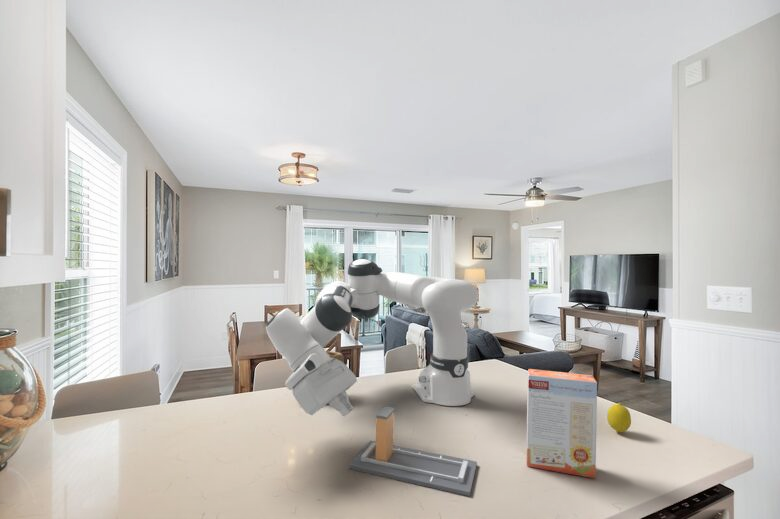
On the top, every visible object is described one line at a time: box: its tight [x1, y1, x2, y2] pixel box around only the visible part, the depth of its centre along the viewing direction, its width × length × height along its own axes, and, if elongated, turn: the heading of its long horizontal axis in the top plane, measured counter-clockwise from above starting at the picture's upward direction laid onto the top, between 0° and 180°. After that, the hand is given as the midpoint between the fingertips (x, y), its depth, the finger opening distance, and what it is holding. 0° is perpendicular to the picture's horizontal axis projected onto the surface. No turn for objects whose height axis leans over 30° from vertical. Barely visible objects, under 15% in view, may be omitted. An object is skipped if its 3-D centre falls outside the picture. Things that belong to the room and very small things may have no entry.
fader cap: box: [375, 406, 396, 462], centre depth 87 cm, size 3×5×10 cm, turn 161°
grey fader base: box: [348, 440, 478, 497], centre depth 85 cm, size 26×12×2 cm, turn 71°
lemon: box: [606, 403, 632, 434], centre depth 104 cm, size 6×6×8 cm
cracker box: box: [526, 368, 598, 479], centre depth 86 cm, size 14×6×21 cm, turn 71°
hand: (348, 412), depth 89 cm, fingers closed
